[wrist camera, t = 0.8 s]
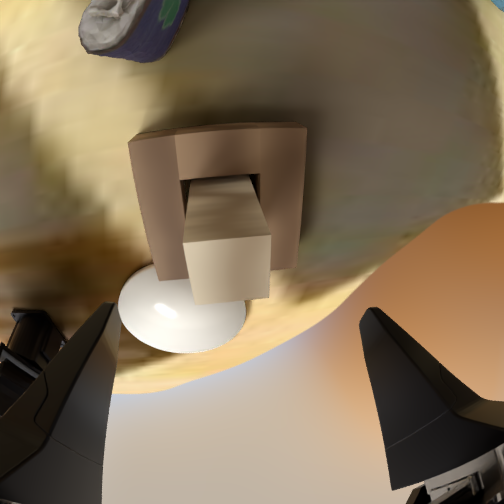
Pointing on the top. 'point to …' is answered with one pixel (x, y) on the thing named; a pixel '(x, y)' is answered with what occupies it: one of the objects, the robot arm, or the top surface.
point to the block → (226, 241)
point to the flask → (131, 28)
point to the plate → (176, 314)
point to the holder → (219, 164)
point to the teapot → (499, 4)
